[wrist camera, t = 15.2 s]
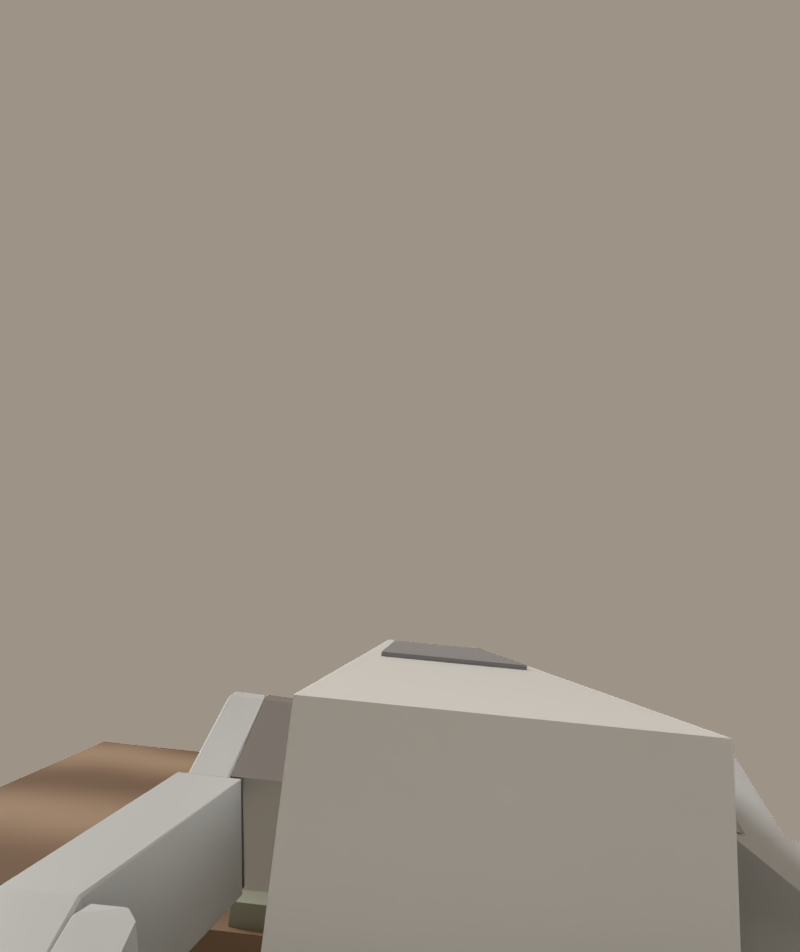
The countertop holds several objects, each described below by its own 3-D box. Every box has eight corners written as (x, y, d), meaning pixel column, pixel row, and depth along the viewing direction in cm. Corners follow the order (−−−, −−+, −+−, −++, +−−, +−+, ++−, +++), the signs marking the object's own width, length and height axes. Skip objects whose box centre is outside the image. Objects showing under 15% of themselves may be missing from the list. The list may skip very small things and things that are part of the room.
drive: (382, 711, 26) (388, 637, 27) (474, 720, 26) (478, 645, 27) (243, 1084, 5) (294, 683, 6) (748, 1149, 5) (733, 727, 5)
